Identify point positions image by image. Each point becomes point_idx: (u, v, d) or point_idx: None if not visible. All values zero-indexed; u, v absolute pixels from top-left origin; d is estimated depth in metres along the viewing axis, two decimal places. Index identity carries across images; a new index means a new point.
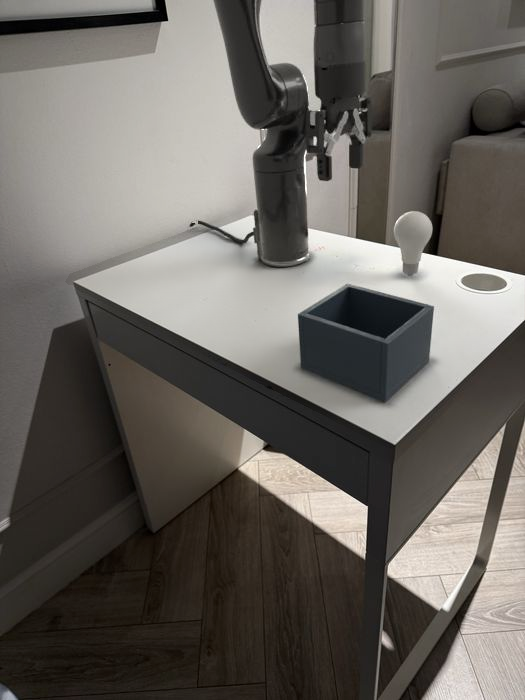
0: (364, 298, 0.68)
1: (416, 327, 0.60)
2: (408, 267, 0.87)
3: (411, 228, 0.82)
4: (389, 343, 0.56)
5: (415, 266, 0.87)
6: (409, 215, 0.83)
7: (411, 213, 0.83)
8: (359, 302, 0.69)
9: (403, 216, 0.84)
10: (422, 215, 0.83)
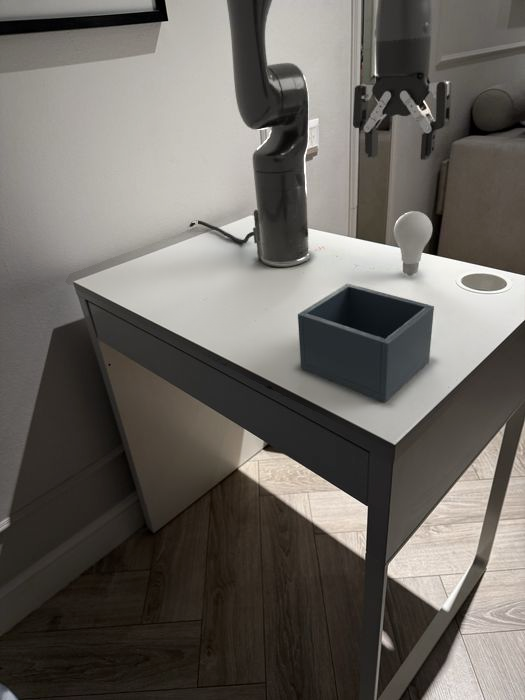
0: (364, 298, 0.68)
1: (416, 327, 0.60)
2: (408, 267, 0.87)
3: (411, 228, 0.82)
4: (389, 343, 0.56)
5: (415, 266, 0.87)
6: (409, 215, 0.83)
7: (411, 213, 0.83)
8: (359, 302, 0.69)
9: (403, 216, 0.84)
10: (422, 215, 0.83)
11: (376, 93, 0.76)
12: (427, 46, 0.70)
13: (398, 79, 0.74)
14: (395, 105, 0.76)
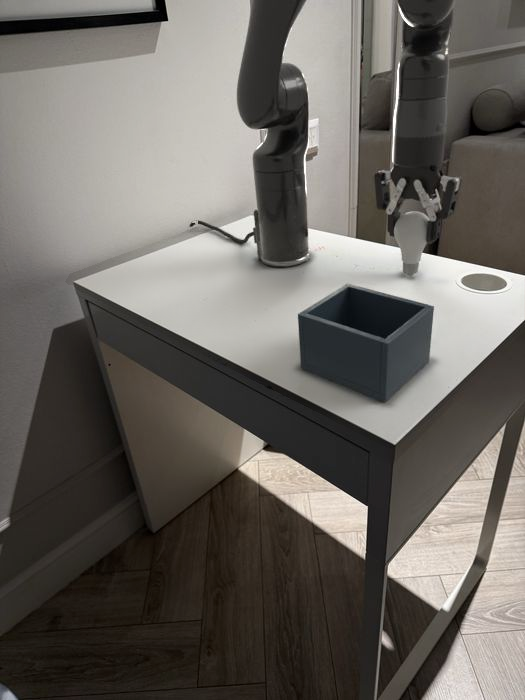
0: (364, 298, 0.68)
1: (416, 327, 0.60)
2: (408, 267, 0.87)
3: (412, 228, 0.82)
4: (389, 343, 0.56)
5: (415, 266, 0.87)
6: (410, 216, 0.83)
7: (411, 213, 0.83)
8: (359, 302, 0.69)
9: (403, 216, 0.84)
10: (422, 215, 0.83)
11: (393, 177, 0.82)
12: (440, 142, 0.75)
13: (413, 168, 0.79)
14: (410, 190, 0.81)
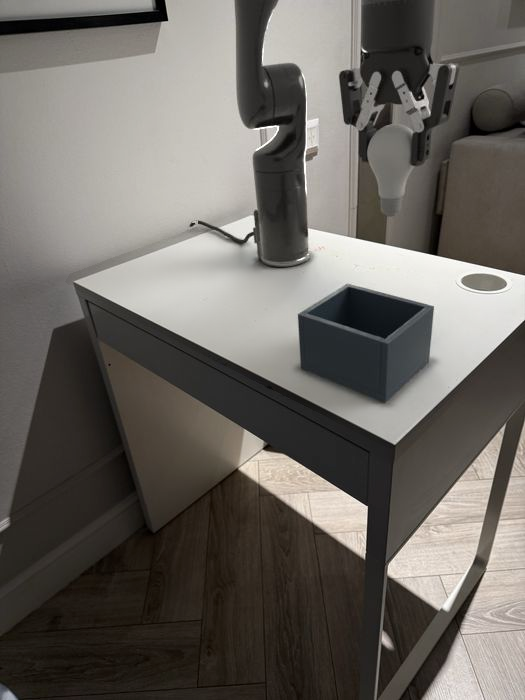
0: (364, 298, 0.68)
1: (416, 327, 0.60)
2: (387, 204, 0.65)
3: (391, 145, 0.60)
4: (389, 343, 0.56)
5: (397, 202, 0.64)
6: (388, 128, 0.60)
7: (390, 125, 0.61)
8: (359, 302, 0.69)
9: (379, 130, 0.61)
10: (405, 127, 0.60)
11: (364, 75, 0.59)
12: (428, 10, 0.53)
13: (391, 56, 0.57)
14: (387, 90, 0.58)
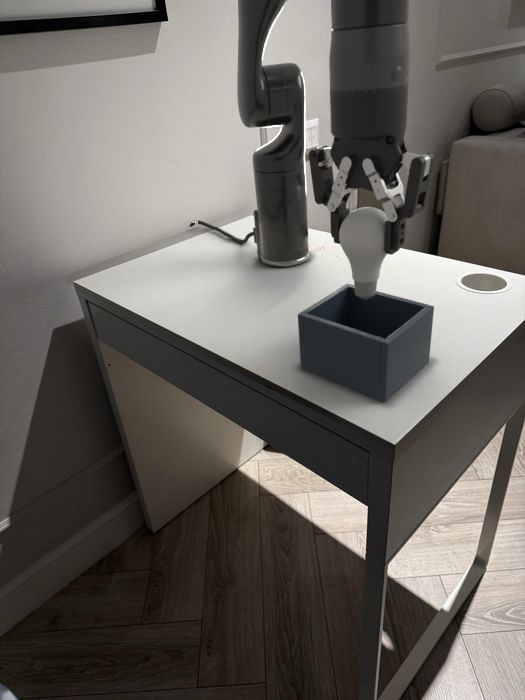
0: None
1: (416, 327, 0.60)
2: (360, 288, 0.60)
3: (362, 232, 0.55)
4: (389, 343, 0.56)
5: (371, 286, 0.60)
6: (360, 213, 0.56)
7: (363, 210, 0.56)
8: (359, 302, 0.69)
9: (351, 214, 0.57)
10: (379, 213, 0.56)
11: (335, 157, 0.55)
12: (399, 99, 0.48)
13: (361, 141, 0.52)
14: (359, 175, 0.54)
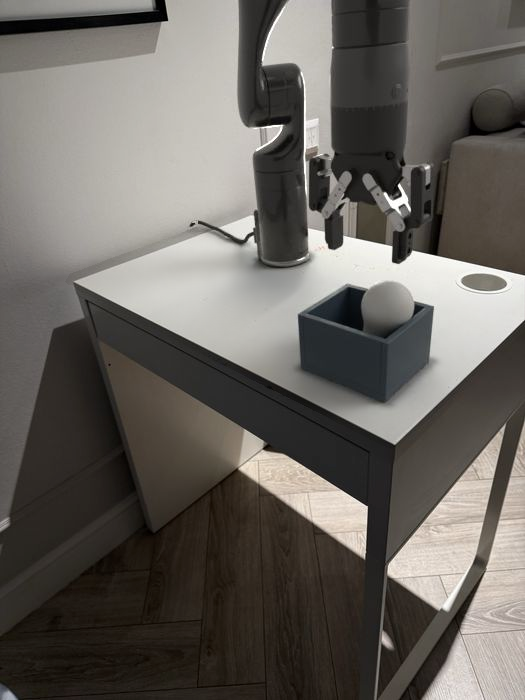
0: None
1: (416, 327, 0.60)
2: None
3: (387, 309, 0.58)
4: (389, 343, 0.56)
5: None
6: (389, 290, 0.59)
7: (392, 286, 0.59)
8: (359, 302, 0.69)
9: (380, 286, 0.60)
10: (406, 293, 0.59)
11: (335, 171, 0.56)
12: (399, 116, 0.49)
13: (362, 156, 0.53)
14: (359, 189, 0.55)
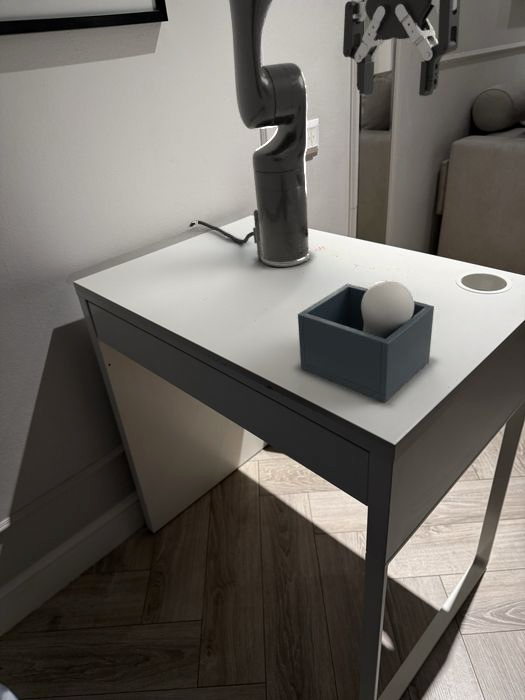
0: None
1: (416, 327, 0.60)
2: None
3: (387, 309, 0.58)
4: (389, 343, 0.56)
5: None
6: (389, 290, 0.59)
7: (392, 286, 0.59)
8: (359, 302, 0.69)
9: (380, 286, 0.60)
10: (406, 293, 0.59)
11: (369, 10, 0.62)
12: None
13: None
14: (391, 25, 0.61)
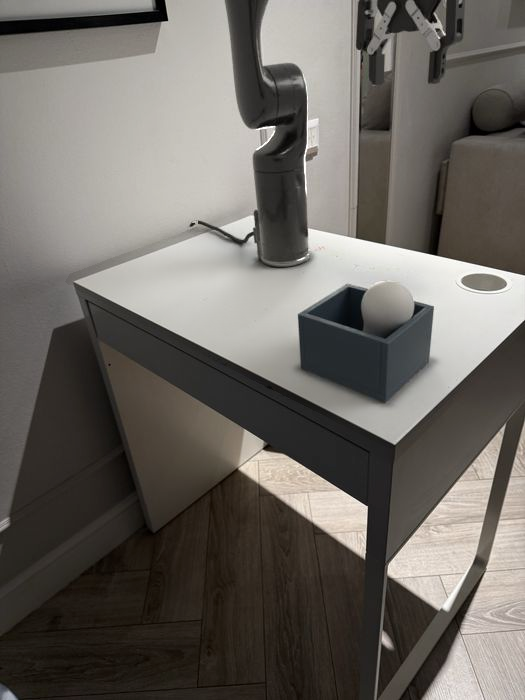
0: None
1: (416, 327, 0.60)
2: None
3: (387, 309, 0.58)
4: (389, 343, 0.56)
5: None
6: (389, 290, 0.59)
7: (392, 286, 0.59)
8: (359, 302, 0.69)
9: (380, 286, 0.60)
10: (406, 293, 0.59)
11: (381, 6, 0.67)
12: None
13: None
14: (401, 19, 0.66)
